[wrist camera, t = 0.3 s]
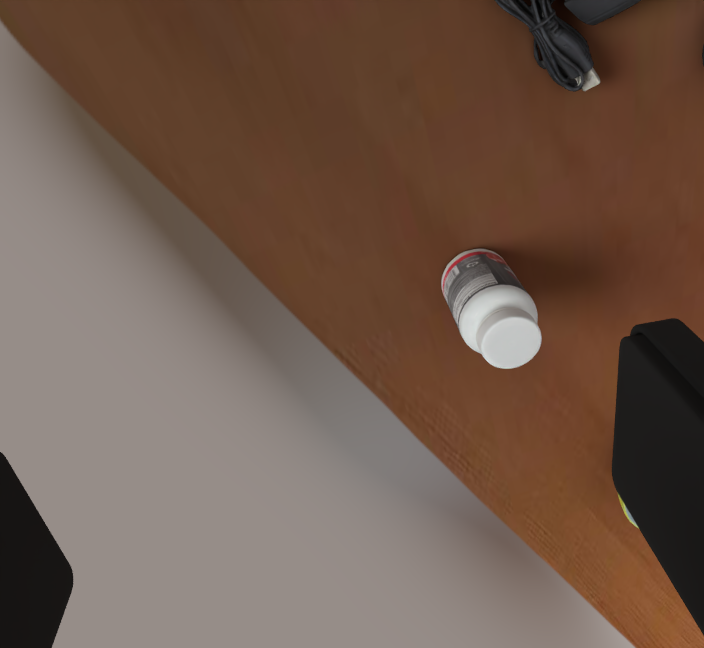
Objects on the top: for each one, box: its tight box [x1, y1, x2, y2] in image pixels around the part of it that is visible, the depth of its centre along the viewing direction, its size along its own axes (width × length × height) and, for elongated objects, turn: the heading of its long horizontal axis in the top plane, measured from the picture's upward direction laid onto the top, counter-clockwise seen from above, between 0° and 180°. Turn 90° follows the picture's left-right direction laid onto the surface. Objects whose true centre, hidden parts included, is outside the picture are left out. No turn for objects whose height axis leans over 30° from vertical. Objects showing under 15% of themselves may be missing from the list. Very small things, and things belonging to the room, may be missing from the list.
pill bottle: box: [441, 249, 542, 369], centre depth 45 cm, size 5×5×10 cm
